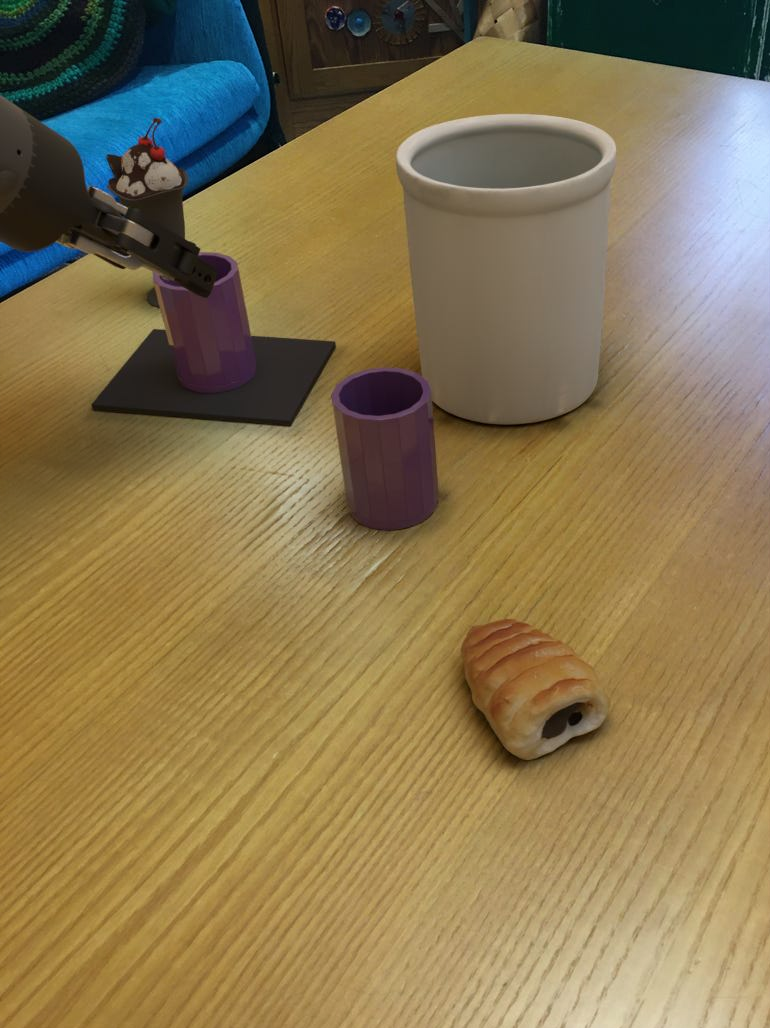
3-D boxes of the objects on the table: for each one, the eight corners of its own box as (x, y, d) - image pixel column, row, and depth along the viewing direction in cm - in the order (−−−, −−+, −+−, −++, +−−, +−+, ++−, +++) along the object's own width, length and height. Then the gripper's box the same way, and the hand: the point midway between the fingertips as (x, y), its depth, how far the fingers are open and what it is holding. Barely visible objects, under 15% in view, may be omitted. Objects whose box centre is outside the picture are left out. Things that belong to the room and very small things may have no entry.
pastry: (432, 666, 63) (428, 617, 61) (531, 624, 66) (532, 575, 63) (518, 775, 57) (517, 726, 55) (623, 724, 60) (628, 675, 57)
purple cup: (166, 390, 85) (139, 287, 80) (195, 350, 90) (172, 250, 84) (241, 396, 84) (219, 292, 79) (268, 355, 89) (249, 254, 83)
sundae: (225, 297, 97) (188, 120, 87) (154, 320, 95) (107, 140, 84) (195, 271, 101) (156, 98, 91) (126, 292, 99) (78, 117, 88)
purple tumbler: (336, 525, 73) (319, 415, 67) (361, 471, 78) (347, 364, 72) (426, 534, 72) (417, 423, 66) (446, 479, 77) (439, 370, 71)
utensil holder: (410, 339, 91) (391, 116, 79) (588, 325, 92) (597, 103, 80) (419, 437, 80) (399, 198, 68) (620, 422, 81) (636, 182, 69)
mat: (92, 410, 85) (90, 404, 84) (154, 334, 93) (153, 328, 93) (290, 426, 82) (289, 420, 82) (336, 346, 90) (335, 341, 90)
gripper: (84, 120, 62) (259, 242, 76) (-70, 79, 68) (119, 199, 82) (37, 248, 62) (220, 344, 77) (-112, 195, 68) (83, 294, 83)
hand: (167, 269), depth 79 cm, fingers open, 8 cm apart
